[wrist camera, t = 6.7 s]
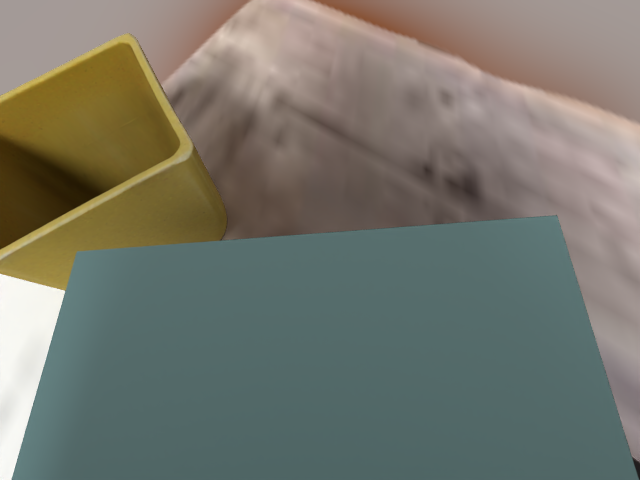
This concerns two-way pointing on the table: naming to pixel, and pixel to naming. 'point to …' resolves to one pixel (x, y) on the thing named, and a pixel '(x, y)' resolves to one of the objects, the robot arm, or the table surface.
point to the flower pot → (97, 166)
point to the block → (328, 361)
